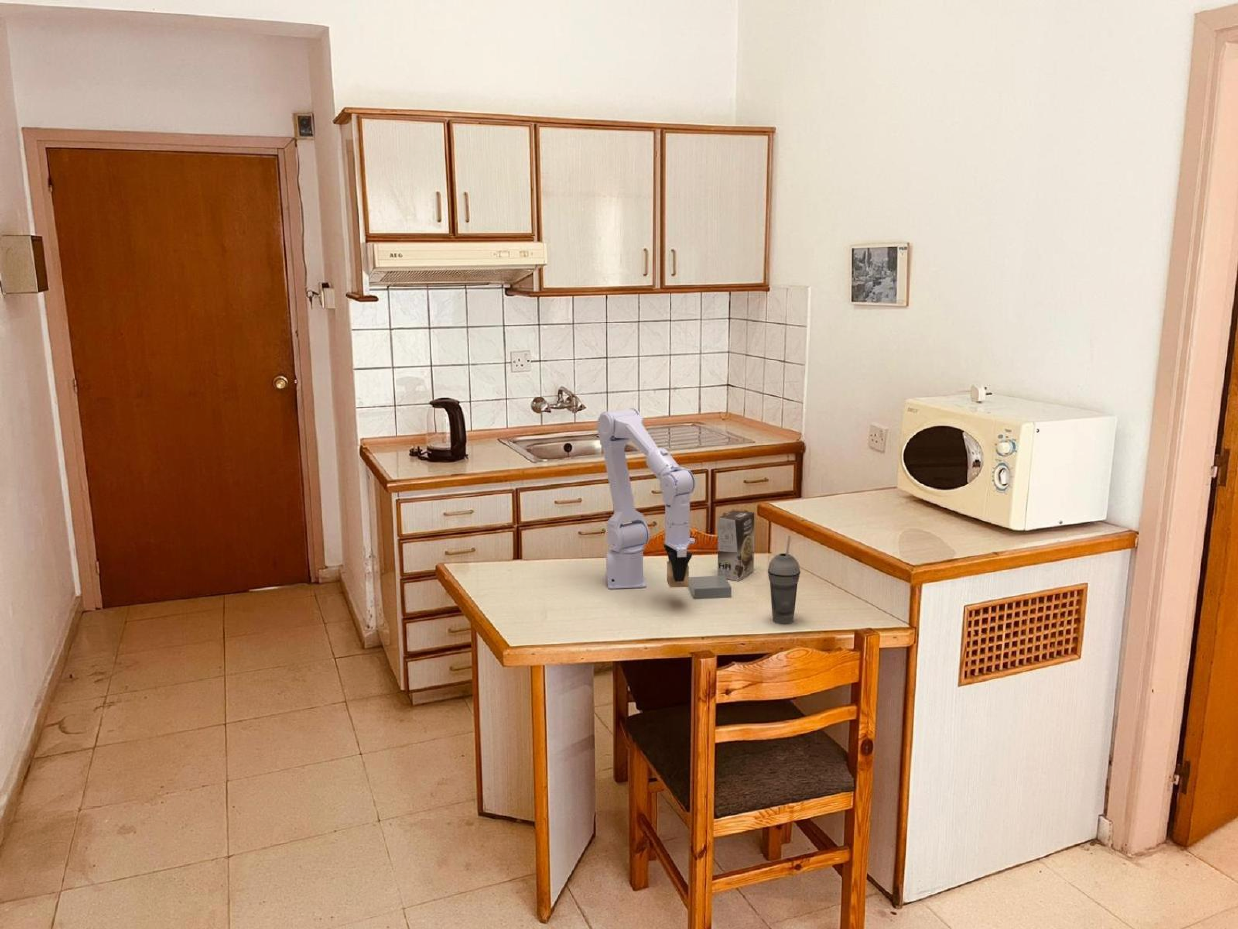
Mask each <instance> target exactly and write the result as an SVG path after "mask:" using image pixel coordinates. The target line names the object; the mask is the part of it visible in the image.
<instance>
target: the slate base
mask: <svg viewBox="0 0 1238 929" xmlns="http://www.w3.org/2000/svg"><path fill="white" fill-rule="evenodd" d="M688 588H689V590H690V592H691V594H692V597H693V599H694V600H697V599H698V600H701V599H722V598H732V586H731V584H730V582H729V581H728V579H726V577H725V576H718V575H711V576H710V575H705V576H704V575H703V576H689V587H688Z"/></svg>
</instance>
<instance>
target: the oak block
mask: <svg viewBox="0 0 1238 929" xmlns="http://www.w3.org/2000/svg"><path fill="white" fill-rule="evenodd" d="M689 574H690V566H689V564H688V565H687V569H686V574H685V578H684V581H678V582H675V580H674V576H673V570H672V565H671V561H669V560H667V561H666V581H667V584H668V588H669V589H672V588H689V577H690V575H689Z"/></svg>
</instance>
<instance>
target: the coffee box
mask: <svg viewBox="0 0 1238 929" xmlns="http://www.w3.org/2000/svg"><path fill="white" fill-rule="evenodd" d="M717 518H718V519H717V524H718V525H717V528H718V529H717V576H725V577H726V579H727V580H729V581H730V580H731V581H735V582H740V581H741V580H743V579H745V578H746V577H747V576H749V575H751V574H753V573H754V572H755V571H754V570H755V568H754V567H755V512H752V511H744V510H734V509H733V510H731V511H728V512H727V513H725V514H723V515H720V516H718V517H717Z"/></svg>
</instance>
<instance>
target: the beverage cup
mask: <svg viewBox="0 0 1238 929" xmlns="http://www.w3.org/2000/svg"><path fill="white" fill-rule="evenodd" d="M786 542H787V544H786V550H785V551H786V552H785V553H784V552H783V553H779V554H776V555H775V556H773V557H772V559H771V560H770V562H769V565H768V569H767V573H768V579H769V587H770V590H769V591H770V602H771V614H772V621H773V622H774V623H776V624H778V625H789V624H790V625H791V624H792V623H793V622H794V616H795V608H796V602H797V601H796V600H797V592H798V582H799V579H800V575H801V569H800V568H801V567H800V564H799V561H798V560H797V559H796V558H795V557H794V556H793V555H791V554H789V550H790V544H791V543H790V542H791V535H788V536H787V541H786Z"/></svg>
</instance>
